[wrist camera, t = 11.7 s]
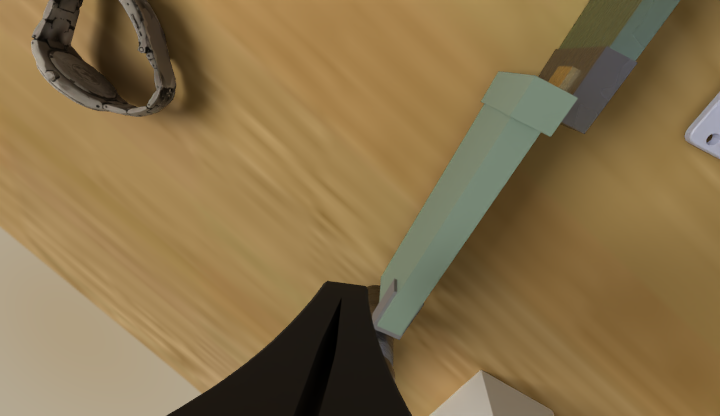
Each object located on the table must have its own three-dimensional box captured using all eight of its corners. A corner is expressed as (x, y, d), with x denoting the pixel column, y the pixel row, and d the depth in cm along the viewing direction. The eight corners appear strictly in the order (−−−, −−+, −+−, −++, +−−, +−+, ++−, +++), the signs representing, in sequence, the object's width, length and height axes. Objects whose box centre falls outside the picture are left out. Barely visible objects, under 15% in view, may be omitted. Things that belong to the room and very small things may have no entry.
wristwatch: (191, 110, 18) (96, 124, 18) (156, -26, 16) (50, -11, 16) (156, 112, 15) (39, 128, 15) (106, -60, 13) (-27, -41, 13)
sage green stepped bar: (399, 291, 20) (400, 349, 16) (374, 280, 20) (369, 336, 16) (530, 88, 15) (577, 98, 11) (498, 71, 15) (535, 75, 11)
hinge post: (402, 294, 21) (404, 394, 15) (327, 410, 25) (304, 524, 19) (366, 278, 21) (353, 372, 14) (297, 398, 25) (264, 509, 19)
